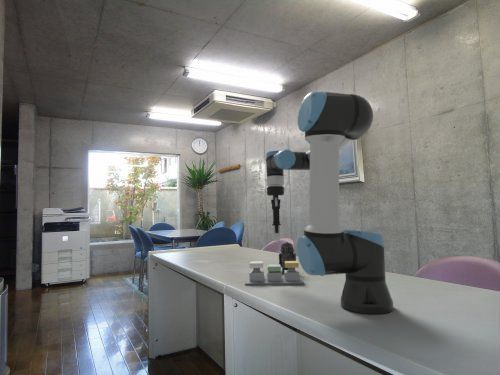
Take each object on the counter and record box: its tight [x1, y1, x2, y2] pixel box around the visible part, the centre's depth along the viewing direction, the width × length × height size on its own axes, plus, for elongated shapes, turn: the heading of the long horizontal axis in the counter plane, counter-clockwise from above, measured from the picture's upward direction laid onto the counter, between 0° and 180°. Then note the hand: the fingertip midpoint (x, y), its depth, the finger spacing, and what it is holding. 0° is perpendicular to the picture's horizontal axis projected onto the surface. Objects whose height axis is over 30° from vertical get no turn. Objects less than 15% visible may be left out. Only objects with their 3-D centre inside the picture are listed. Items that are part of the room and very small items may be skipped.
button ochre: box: [285, 260, 300, 272], centre depth 138 cm, size 6×6×5 cm
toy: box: [278, 241, 297, 275], centre depth 156 cm, size 8×6×15 cm
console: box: [244, 269, 306, 286], centre depth 138 cm, size 24×16×4 cm, turn 87°
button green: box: [267, 263, 282, 272], centre depth 138 cm, size 6×6×5 cm
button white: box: [249, 260, 264, 273], centre depth 139 cm, size 6×6×5 cm
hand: (276, 240), depth 139 cm, fingers closed
